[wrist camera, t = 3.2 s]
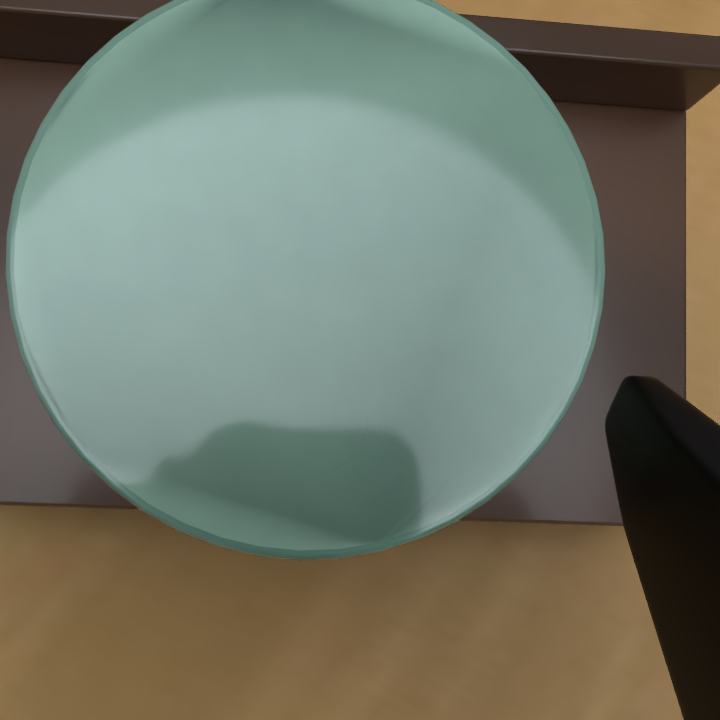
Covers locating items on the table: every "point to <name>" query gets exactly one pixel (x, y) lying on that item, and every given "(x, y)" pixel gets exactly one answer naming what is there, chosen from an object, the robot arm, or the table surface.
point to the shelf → (608, 176)
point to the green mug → (305, 270)
